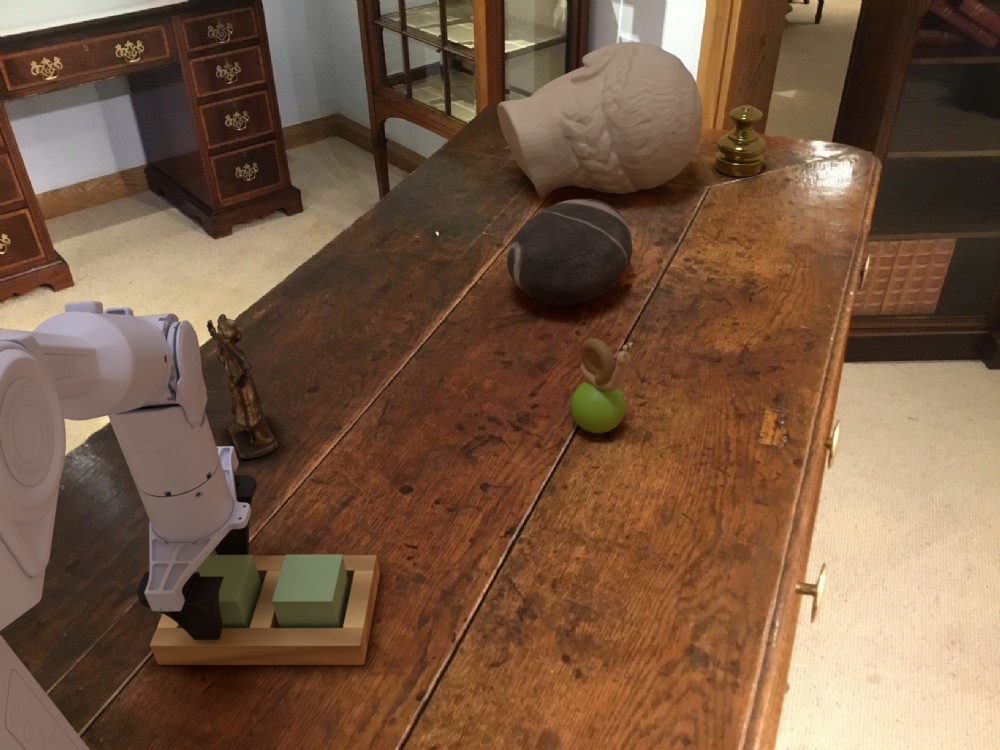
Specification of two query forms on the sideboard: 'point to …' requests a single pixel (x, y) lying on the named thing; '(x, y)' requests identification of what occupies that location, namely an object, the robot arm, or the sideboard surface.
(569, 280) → the decorative stone
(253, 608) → the olive green cubic block
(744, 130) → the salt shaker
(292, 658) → the backing frame
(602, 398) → the snail figurine
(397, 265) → the sideboard surface
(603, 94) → the bust
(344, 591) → the green cubic block
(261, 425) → the figurine
